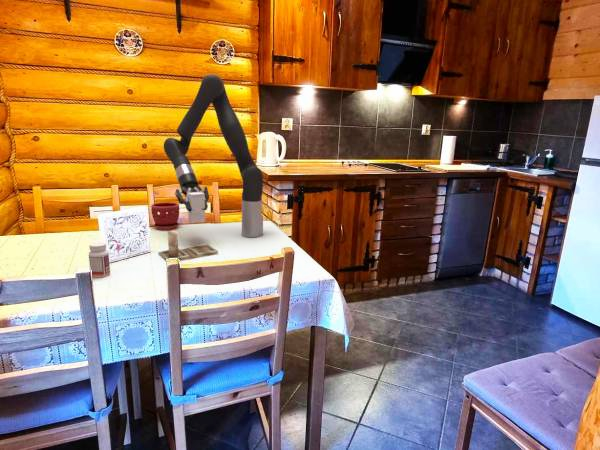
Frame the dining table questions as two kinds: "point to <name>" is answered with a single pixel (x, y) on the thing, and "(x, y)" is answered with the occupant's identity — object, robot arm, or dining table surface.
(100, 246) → the pill bottle
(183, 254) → the board
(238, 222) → the dining table surface
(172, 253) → the peg
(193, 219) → the skincare box
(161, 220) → the plant pot
